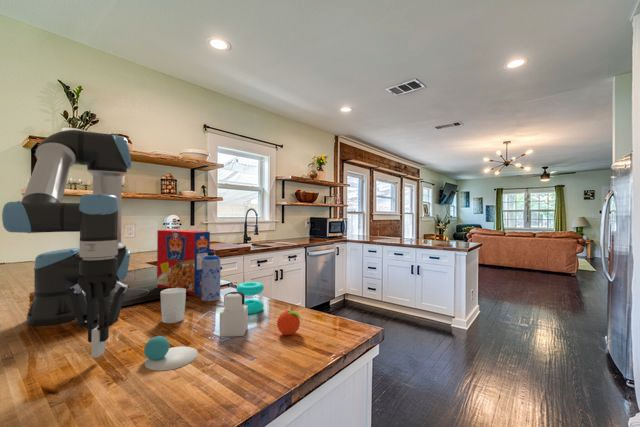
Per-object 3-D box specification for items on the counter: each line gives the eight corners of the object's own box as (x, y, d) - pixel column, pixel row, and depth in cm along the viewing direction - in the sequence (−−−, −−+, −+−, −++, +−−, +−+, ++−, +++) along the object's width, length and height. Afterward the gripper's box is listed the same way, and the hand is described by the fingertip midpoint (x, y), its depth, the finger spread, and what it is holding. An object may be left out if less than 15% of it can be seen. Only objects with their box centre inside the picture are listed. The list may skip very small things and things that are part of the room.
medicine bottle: (225, 327, 94) (225, 290, 94) (247, 327, 95) (248, 289, 95) (219, 337, 87) (219, 296, 87) (243, 336, 88) (244, 296, 88)
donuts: (268, 282, 114) (253, 288, 105) (268, 308, 114) (253, 316, 105) (247, 280, 118) (230, 285, 108) (247, 305, 118) (230, 312, 108)
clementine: (306, 332, 91) (306, 309, 91) (297, 341, 85) (297, 316, 85) (283, 328, 94) (283, 306, 94) (272, 337, 87) (273, 313, 87)
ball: (149, 369, 71) (135, 351, 70) (157, 357, 76) (144, 341, 76) (170, 355, 72) (156, 337, 71) (176, 344, 77) (163, 328, 76)
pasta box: (157, 287, 145) (157, 230, 145) (172, 284, 151) (172, 229, 151) (194, 295, 131) (194, 232, 131) (209, 291, 137) (209, 231, 137)
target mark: (135, 372, 68) (135, 371, 68) (156, 348, 79) (156, 347, 79) (190, 368, 69) (190, 368, 69) (203, 346, 81) (203, 345, 81)
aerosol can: (213, 294, 132) (213, 250, 132) (224, 297, 127) (224, 251, 127) (197, 298, 126) (197, 251, 126) (208, 302, 121) (208, 253, 121)
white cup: (175, 325, 96) (175, 294, 96) (154, 323, 98) (154, 293, 98) (190, 316, 104) (191, 288, 104) (171, 315, 105) (171, 287, 105)
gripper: (57, 260, 67) (56, 364, 67) (120, 259, 69) (119, 360, 69) (79, 255, 75) (78, 349, 75) (135, 255, 77) (134, 346, 77)
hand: (98, 354), depth 72 cm, fingers closed
